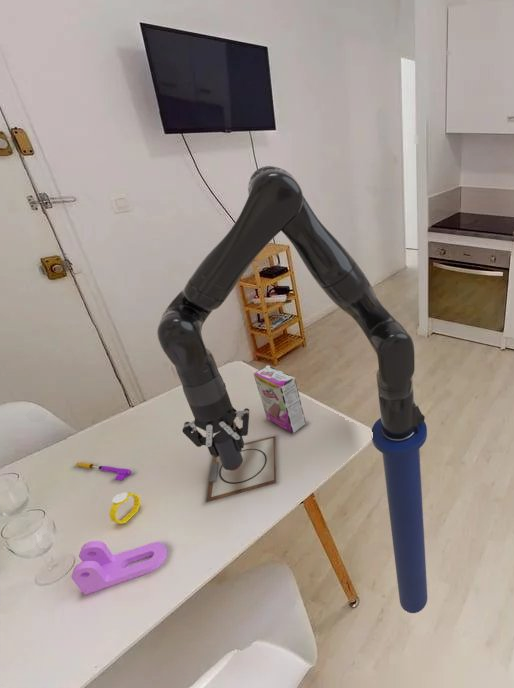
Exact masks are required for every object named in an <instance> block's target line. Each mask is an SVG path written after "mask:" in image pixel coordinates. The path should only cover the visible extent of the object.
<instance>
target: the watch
mask: <svg viewBox="0 0 514 688" xmlns="http://www.w3.org/2000/svg"><path fill="white" fill-rule="evenodd" d="M130 497H132V498H133V506H132V508H131V510H130V511H129V512H128V513H127V514H126V515H125V516H124V517H123V518H121V519H119V520H118V517H117V511H118V508H119V507H120V505H122V504H125V503H126V502H127V501H128V500H129V498H130ZM111 501H112V502H111V503H112V505H111V507H110V510H109V518H110V521H111V522H113V523H115V524H119V525H122V524H127V523H128V521H130V519H131V518H132V517H133V516H135V515H136V514H137V513H138V511H139V508H140V506H141V498H140V496H139V495H138V494H137V493H133V492H120V493H118V494H116V495H115V496H113V498H112V500H111Z"/></svg>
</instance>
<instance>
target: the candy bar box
mask: <svg viewBox="0 0 514 688" xmlns="http://www.w3.org/2000/svg"><path fill="white" fill-rule="evenodd" d="M253 377H254V381H255V384H256V387H257V391H258V394H259V396H260V400H261V403H262V406H263V410H264V414H265V416H266V419H267V421H269V422H271V423H273V424H275V425H277V426H279V427H280V428H281V429H284V430H286V431H287V432H289V433H291V434H295V433H297V431H299V430H300V429H302V428H303V427H304V426H306V424H307V422H306V418H305V414H304V410H303V406H302V402H301V397H300V393H299V389H298V385H297V382H296V377H294V376H292V375H290V374H288V373H286V372H284V371H281V370H279V369H277V368H275V367H273V366H271V365H269V364H268V365H266V366H264V367H262V368H261V369H259V370H256V371H255V372H254V373H253Z"/></svg>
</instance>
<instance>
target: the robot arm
mask: <svg viewBox="0 0 514 688" xmlns="http://www.w3.org/2000/svg"><path fill="white" fill-rule="evenodd" d="M247 185H248V186H247V195H248V197H247V199H246V201H245V203H244V205H243V208H242V209H241V212H240V214H239V216H238V218H237V219H236V221H235V222H234V224H233V226H232V227H231V228H230V230H229V231H228V232H227V234H226V235H225V236H224V237H223V238H222V239H221V240H220V241H219V242H218V244H216V245H215V247H213V248H212V250H211V251H209V253H207V255H205V257H204V259H203V260H202V261H201V262H200V264H199V265H198V266H197V268H196V269H195V271H194V272H193V274H191V276H190V278H189V279H188V280H187V282H186V284H185V286H184V287H183V289H182V290H180V292H179V293H178V294H177V295H176V296H175V298H173V299H172V301H171V302H170V303H169V305H168V306H167V307H166V309H165V310H164V312H163V314H162V315H161V318H160V321H159V323H158V326H157V330H156V331H157V332H156V333H157V334H156V335H157V339H158V342H159V345H160V347H161V349H162V351H163V352H164V354H165V356H167V358H168V360H170V362H171V364H173V365H174V368H175V370H176V373H177V376H178V378H179V381H180V384H181V386H182V391H183V394H184V397H185V399H186V401H187V404H188V406H189V409H190V411H191V413H192V415H193V417H194V420H193V421H185V422H184V423H183V427H182V433H183V434H184V435H185V436H186V437H187V438H188V439H189V440H190V441H191V442H192V443H193V444H194V445H195V447H197V448H200V447H203V446H205V447H207V449H208V452H209V454H210V455H211V456H212V457H213V455H214V457H218V456H219V455H218V453H217V450H216V448H215V445H214V443H213V437H214V435H215V434H217V433H218V432H220V431H226V432H227V433H228V434H229V435H231V436H232V437H233V438H234V442H235V444H236V447H237V450H238V451H242V448H243V447H244V444H245V442H244V438H243V437H246V436H248V434H249V424H250V408H247V407H246V408H244V409H243V410H237V409H236V408H235V407H233V404H232V401H231V398H230V395H229V392H228V389H227V386H226V383H225V382H224V378H223V377H222V375H221V373H220V371H219V369H218V365H217V363H216V360H215V357H214V355H213V353H212V351H210V349H208V348H207V347H206V345H205V342H204V339H203V335H202V329H203V326H204V323H205V321H206V320H207V318H208V317H210V314H211V313H212V312H213V311H215V310H217V309H218V308H220V307H221V306H222V305H223V303H224V302H225V301H226V299H227V298H228V297H229V295H230V294H231V293H232V291H233V290H234V289H235V287H236V286H237V285H238V283H239V282H240V281H241V279H242V277H243V276H244V275H245V273H246V272H247V270H248V269H249V268H250V266H251V265H252V264H253V262H254V261H255V260H256V258H257V257H258V256H259V255H260V253H261V252H262V251H263V250H264V249H265V248H266V247H267V246H268V244H269V243H270V242H272V241H273V239H274V238H275V237H276V236H277V235H278V234H279V233H280V232H282V234H283V235H285V237H286V238H287V239H288V240H289V242H290V243H291V244H292V246H293V247H294V249H295V251H296V252H297V254H298V255H299V257H300V259H301V261H302V262H303V264H304V266H305V267H306V269H307V270H308V272H309V273H310V275H311V277H312V278H313V279H314V280H315V282H316V283H317V285H318V286H319V287H320V288H321V290H322V291H324V293H325V294H326V295H327V297H328V298H329V299H330V300H331V301H332V302H333V303H334V304H335V305H337V307H339V308H340V309H341V310H342V311H343V312H345V313H346V314H348V316H350V317H351V318H352V319H353V320H354V321H355V322H356V323H357V325H358V326H359V327H360V329H361V330H362V332H363V334H364V335H365V337H366V338H367V340H368V342H369V344H370V346H371V348H372V349H373V351H374V353H375V354H376V356H377V363H378V370H377V372H376V376H375V377H376V385H377V394H378V402H379V403H378V404H379V411H380V418H381V421H382V433H383V436H384V437H385V438H386V439H388V440H390V441H393V442H402V441H406V440H408V439H410V438H411V437H412V436H413V435H414V434H416V433H418V426H417V425H419V424H423V421H424V422H425V420H426V419H425V415H424V414H423V413H422V411H421V409H420V407H419V406H418V405H417V404H416V403H415V397H414V381H413V376H414V374H415V370H416V369H415V368H416V367H415V366H416V365H415V364H416V363H415V357H416V355H415V343H414V340H413V338H412V336H411V335H410V334H409V333H408V332H407V330H406V329H405V327H404V326H403V325H402V324H401V323H400V322H398V321H397V320H396V319H395V318H394V317H393V315H392V314H390V312H389V311H388V310H387V309H386V307H384V306H383V304H382V303H381V301H379V299H378V297H377V295H376V293H375V291H374V289H373V286H372V285H371V283H370V281H369V279H368V277H367V276H366V274H365V273H364V271H363V270H362V269H361V267H360V266H359V265H358V263H357V262H356V260H355V259H354V258H353V256H351V254H350V253H349V251H347V249H346V248H345V247H344V246H343V245H342V244H341V242H340V241H339V240H338V239H337V238H336V237H335V236H334V235H333V234H332V233H331V232H330V230H328V229H327V227H326V226H325V225H324V224H323V223H322V222H321V220H320V219H319V218H318V216H317V215H316V214H315V212H314V211H313V209H312V207H311V206H310V205H309V202H308V201H307V199H306V197H305V196H304V194H303V190H302V188H301V186H300V183H298V181H297V180H296V178H294V176H293V175H292V174H291V173H290V172H288V171H287V170H285V169H283V168H281V167H279V166H273V165H267V166H262V167H260V168H258V169H256V170H255V171H254V172H253V173H252V174H251V176H250V178H249V181H248V184H247ZM236 418H238V420H239V421H240V422H242V427H239V426H238V425H237V423H236V422H235V420H236ZM197 428H198V429H200V430H203V432H204V431H205V436H204V435H203V434H202V433H201V432H200V431H199V430H198V429H197Z"/></svg>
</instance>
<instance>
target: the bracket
mask: <svg viewBox="0 0 514 688" xmlns="http://www.w3.org/2000/svg"><path fill="white" fill-rule="evenodd" d="M167 556H168V550H167V548H166V546H165V545H164V543H162V542H160V541H154V542H150V543H147V544H144V545H141V546H138V547H135V548H132V549H129V550H126V551H123V552H119V553H116V554H113V553H112V552H111V550H110V549H109V548H108V546H107V544H106V543H105V542H103V541H101V540H91V541H88V542H85V543H84V544H83V545H82V546H81V548H80V551H79V554H78V558H79V559H80V560H81V562H79V563H77V564H76V565H75V566H74V567H73V571H72V573H71V576H70V578H71V580H72V581H73V582H74V584H75V585H76V586H77V587H78V589H79V590H80V591H81V592H82V593H83V595H84V596H87V595H89V594H92V593H95V592H99V591H101V590H104V589H107V588H109V587H112V586H115V585H119V584H121V583H123V582H126V581H127V582H128V581H129V580H132V579H135V578H138V577H141V576H143V575H147V574H149V573H152V572H154V571H156V570H157V569H158V568H160V567H161V565H162V564H163V563H164V562H165V561H166V559H167ZM149 557H150V558H149ZM147 558H149V559H147ZM143 559H146V560H143ZM140 560H143V561H140ZM138 561H140V562H138ZM134 562H137V563H134ZM132 563H134V564H132ZM129 564H131V565H129ZM127 565H129V566H127Z"/></svg>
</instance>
